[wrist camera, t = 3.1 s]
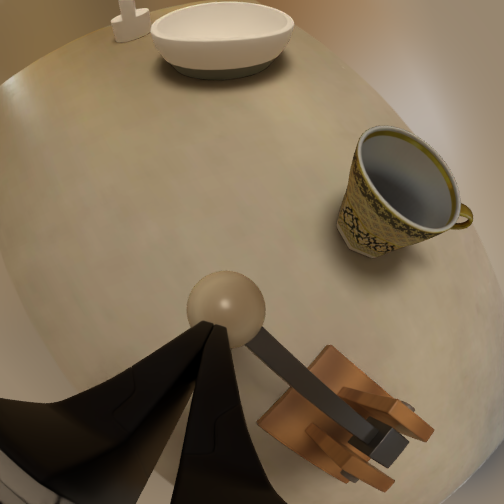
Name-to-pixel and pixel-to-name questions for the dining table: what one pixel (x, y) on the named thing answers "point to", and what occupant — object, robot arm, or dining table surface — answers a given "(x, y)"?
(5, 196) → the dining table surface
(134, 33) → the cylinder with rectangular tab
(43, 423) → the robot arm
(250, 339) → the lever
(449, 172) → the ceramic cup
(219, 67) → the bowl
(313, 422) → the bracket
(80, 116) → the dining table surface
